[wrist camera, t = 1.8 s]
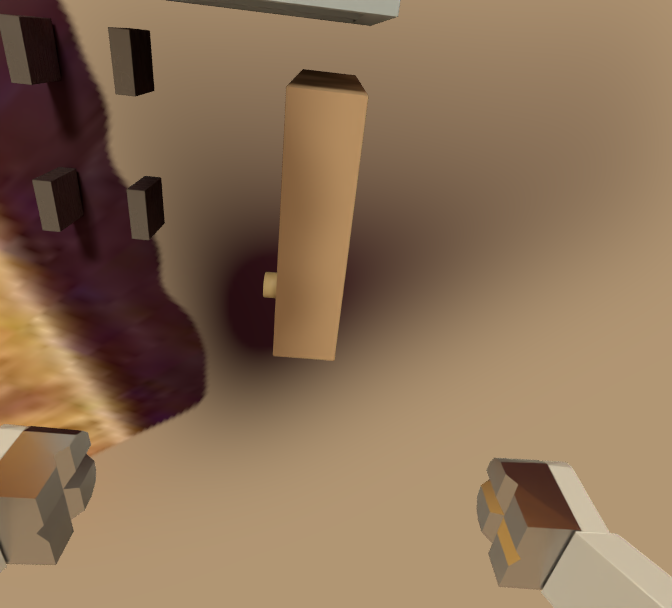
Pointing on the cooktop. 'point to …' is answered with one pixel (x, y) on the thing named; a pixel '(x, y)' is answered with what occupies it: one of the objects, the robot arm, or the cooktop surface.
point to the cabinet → (316, 8)
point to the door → (316, 210)
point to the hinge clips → (129, 78)
